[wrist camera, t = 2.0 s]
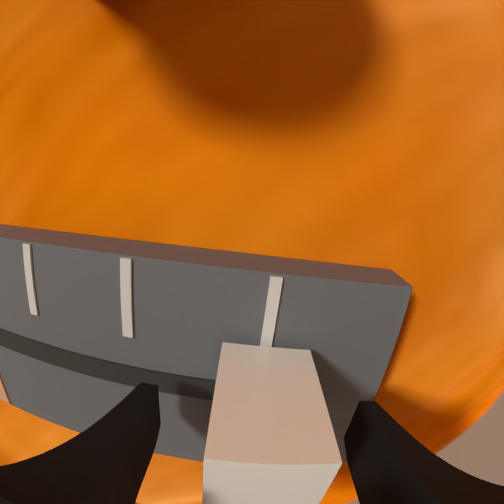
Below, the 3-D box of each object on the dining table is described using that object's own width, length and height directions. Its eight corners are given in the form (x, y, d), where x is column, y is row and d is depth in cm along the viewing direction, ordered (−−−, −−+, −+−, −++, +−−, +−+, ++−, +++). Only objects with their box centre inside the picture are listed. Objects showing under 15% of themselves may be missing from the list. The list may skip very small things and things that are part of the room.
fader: (284, 442, 12) (294, 540, 7) (214, 437, 12) (202, 536, 7) (309, 349, 10) (342, 463, 6) (222, 341, 10) (203, 458, 5)
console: (335, 439, 15) (342, 467, 13) (-41, 353, 14) (-57, 366, 12) (391, 269, 12) (414, 288, 10) (-67, 216, 11) (-89, 222, 9)
